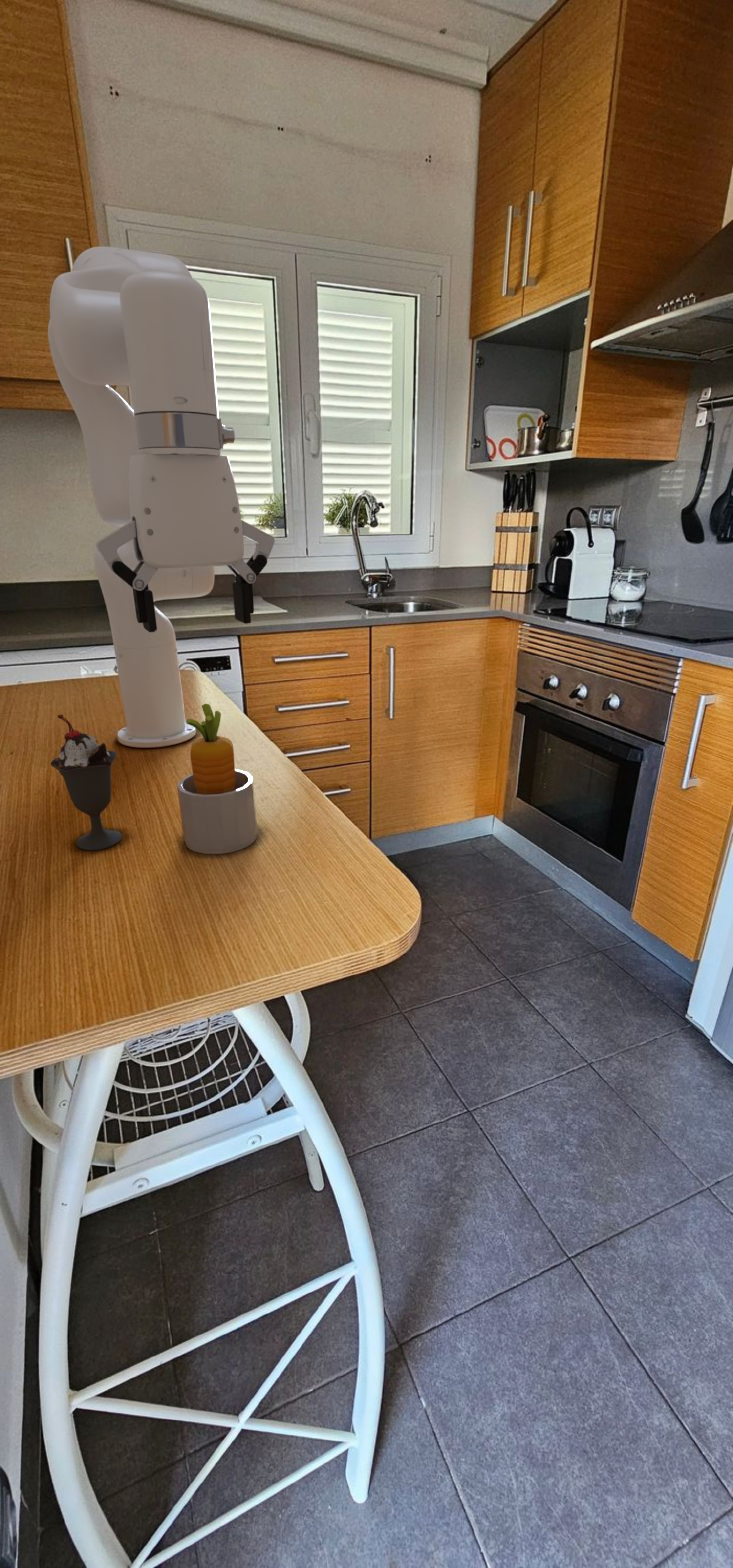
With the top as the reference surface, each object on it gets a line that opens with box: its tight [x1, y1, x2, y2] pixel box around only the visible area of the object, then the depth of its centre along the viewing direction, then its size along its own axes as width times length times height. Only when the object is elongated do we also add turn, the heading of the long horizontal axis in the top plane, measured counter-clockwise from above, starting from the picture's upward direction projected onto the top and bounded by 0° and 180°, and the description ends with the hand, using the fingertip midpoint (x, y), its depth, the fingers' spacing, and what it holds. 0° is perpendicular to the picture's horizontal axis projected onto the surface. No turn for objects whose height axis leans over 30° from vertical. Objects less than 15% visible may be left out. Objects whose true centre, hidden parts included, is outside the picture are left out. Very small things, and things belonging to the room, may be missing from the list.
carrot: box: [185, 703, 236, 795], centre depth 75 cm, size 5×5×15 cm
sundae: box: [50, 714, 123, 851], centre depth 75 cm, size 7×7×15 cm
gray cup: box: [176, 768, 258, 855], centre depth 77 cm, size 8×8×7 cm
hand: (198, 625), depth 70 cm, fingers open, 9 cm apart
